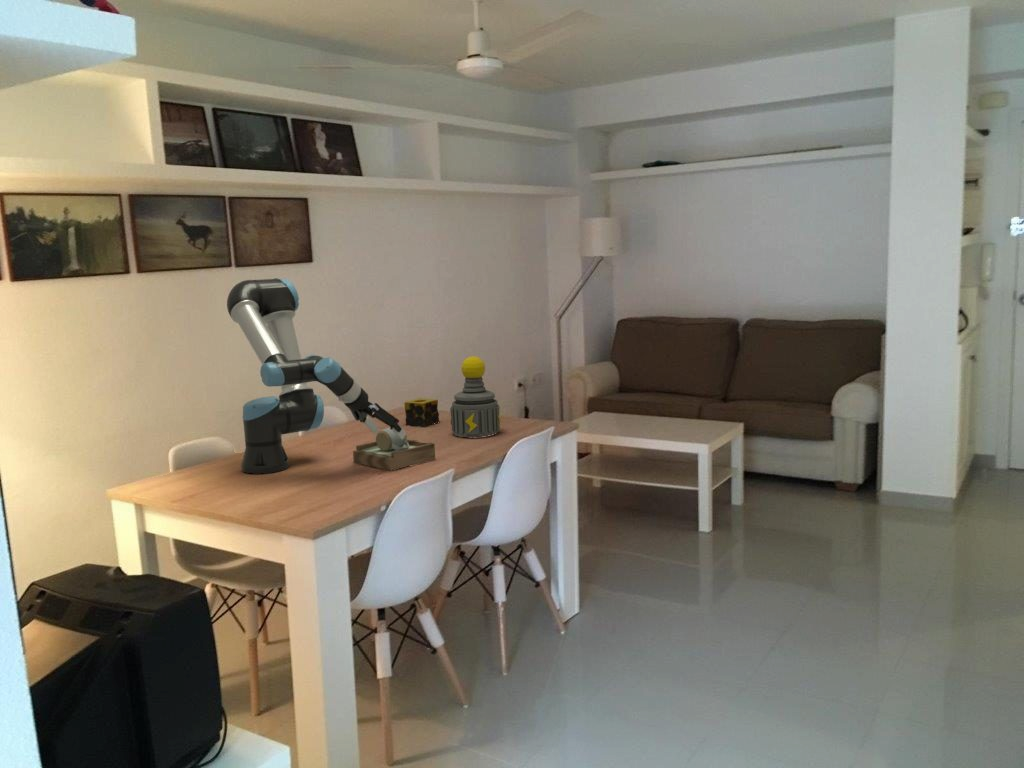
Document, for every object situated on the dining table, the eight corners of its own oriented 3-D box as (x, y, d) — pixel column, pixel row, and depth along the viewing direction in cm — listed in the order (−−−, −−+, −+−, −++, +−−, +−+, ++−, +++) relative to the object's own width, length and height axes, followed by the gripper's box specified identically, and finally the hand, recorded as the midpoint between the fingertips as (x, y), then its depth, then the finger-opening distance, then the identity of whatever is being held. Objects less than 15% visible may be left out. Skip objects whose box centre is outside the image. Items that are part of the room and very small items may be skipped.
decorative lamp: (503, 428, 332) (500, 352, 328) (497, 438, 314) (494, 358, 309) (456, 429, 335) (452, 354, 330) (447, 439, 316) (443, 360, 312)
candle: (440, 423, 348) (438, 399, 347) (424, 427, 340) (423, 403, 338) (420, 421, 353) (419, 397, 352) (405, 425, 345) (403, 401, 343)
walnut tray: (353, 462, 285) (352, 446, 284) (397, 451, 298) (396, 436, 298) (391, 471, 271) (390, 454, 270) (435, 459, 285) (434, 443, 284)
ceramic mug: (374, 450, 282) (373, 428, 280) (390, 445, 288) (389, 423, 287) (398, 454, 276) (397, 431, 275) (414, 449, 283) (414, 426, 281)
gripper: (322, 400, 276) (361, 438, 289) (370, 408, 259) (409, 447, 273) (334, 383, 279) (372, 420, 292) (383, 389, 263) (421, 428, 276)
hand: (390, 433), depth 282 cm, fingers open, 13 cm apart
